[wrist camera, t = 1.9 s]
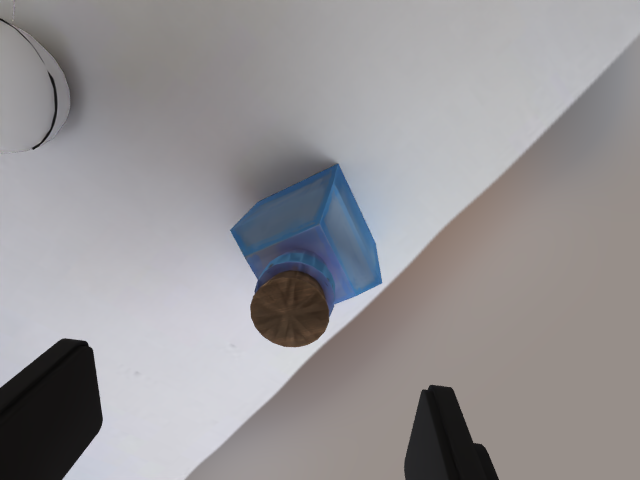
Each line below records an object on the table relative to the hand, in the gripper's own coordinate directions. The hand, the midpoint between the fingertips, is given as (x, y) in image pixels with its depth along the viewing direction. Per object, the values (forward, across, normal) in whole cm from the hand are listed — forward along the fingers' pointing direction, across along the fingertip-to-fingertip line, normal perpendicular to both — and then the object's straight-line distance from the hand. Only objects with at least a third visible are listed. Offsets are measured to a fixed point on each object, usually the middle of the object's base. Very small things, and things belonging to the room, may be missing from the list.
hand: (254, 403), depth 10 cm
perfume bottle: (+17, 0, 0) cm, 17 cm away
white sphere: (+17, +18, -8) cm, 26 cm away
